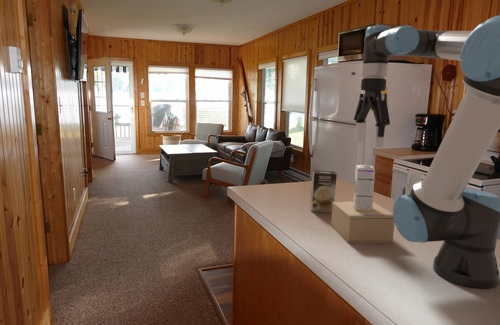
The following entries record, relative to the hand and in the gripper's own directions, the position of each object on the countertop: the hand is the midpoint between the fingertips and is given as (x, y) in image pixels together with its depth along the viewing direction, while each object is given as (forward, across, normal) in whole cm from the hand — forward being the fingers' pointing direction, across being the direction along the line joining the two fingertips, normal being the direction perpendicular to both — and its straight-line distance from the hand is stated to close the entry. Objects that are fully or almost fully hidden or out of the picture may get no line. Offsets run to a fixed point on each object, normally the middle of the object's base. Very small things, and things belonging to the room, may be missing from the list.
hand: (368, 144), depth 118 cm
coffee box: (+31, +26, +5) cm, 41 cm away
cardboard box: (+31, 0, 0) cm, 31 cm away
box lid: (+23, 0, 0) cm, 23 cm away
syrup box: (+22, 0, 0) cm, 22 cm away
